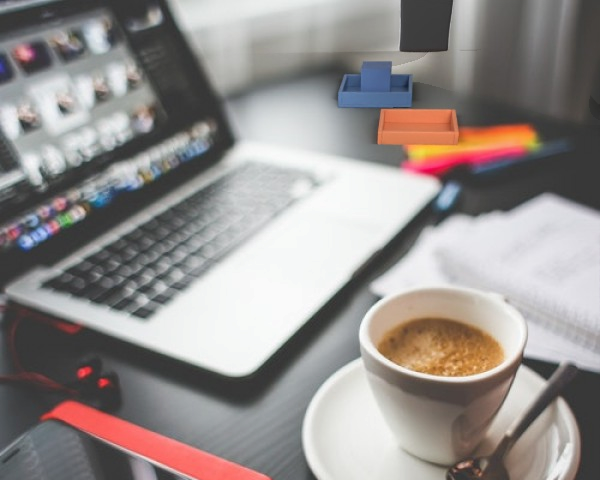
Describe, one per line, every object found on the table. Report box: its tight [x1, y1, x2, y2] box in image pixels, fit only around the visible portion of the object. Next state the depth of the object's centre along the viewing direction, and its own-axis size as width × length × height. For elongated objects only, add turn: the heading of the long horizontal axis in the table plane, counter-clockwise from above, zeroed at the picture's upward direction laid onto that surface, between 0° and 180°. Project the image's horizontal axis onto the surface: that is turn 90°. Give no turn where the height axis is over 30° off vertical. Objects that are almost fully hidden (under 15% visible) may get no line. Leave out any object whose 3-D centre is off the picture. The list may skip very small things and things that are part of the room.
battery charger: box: [398, 0, 455, 53], centre depth 83 cm, size 7×4×11 cm, turn 84°
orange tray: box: [377, 108, 460, 146], centre depth 93 cm, size 11×10×2 cm
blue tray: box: [337, 73, 413, 109], centre depth 109 cm, size 12×11×2 cm
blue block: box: [360, 60, 393, 92], centre depth 108 cm, size 5×5×5 cm
